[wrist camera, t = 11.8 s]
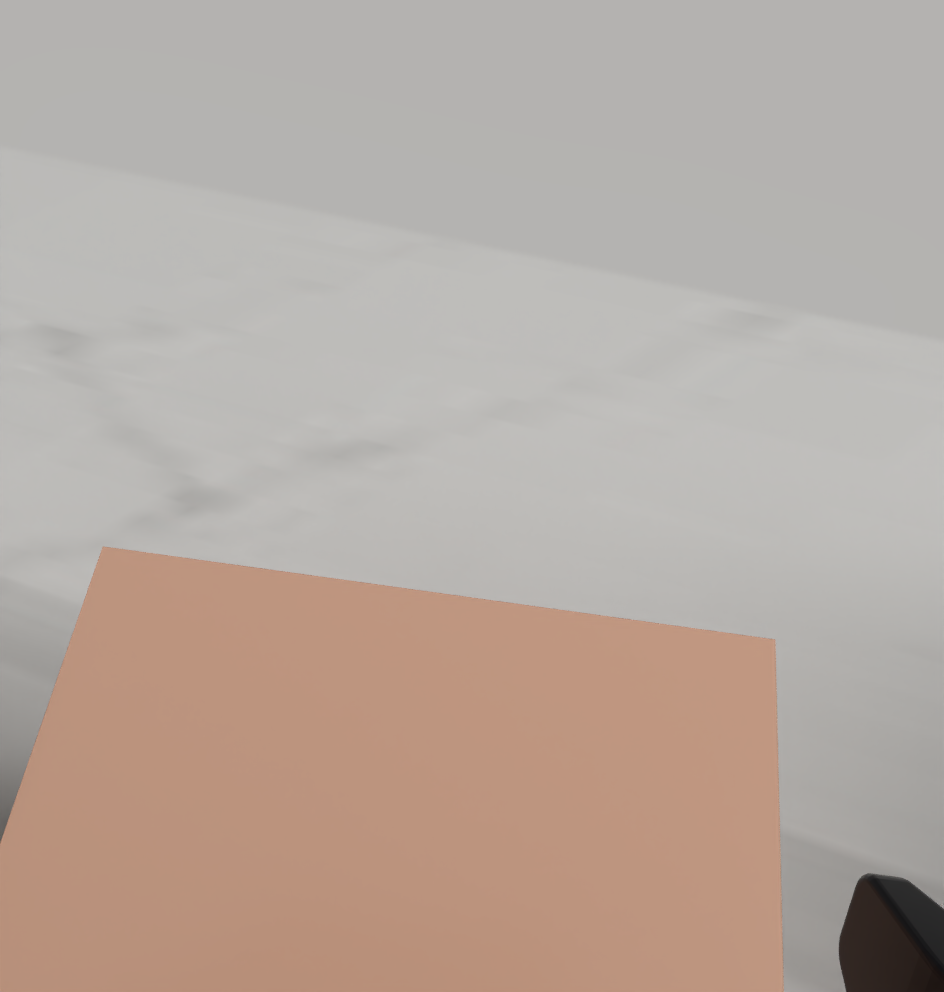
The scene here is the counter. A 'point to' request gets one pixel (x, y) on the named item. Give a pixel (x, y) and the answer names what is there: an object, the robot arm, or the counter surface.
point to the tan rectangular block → (390, 796)
